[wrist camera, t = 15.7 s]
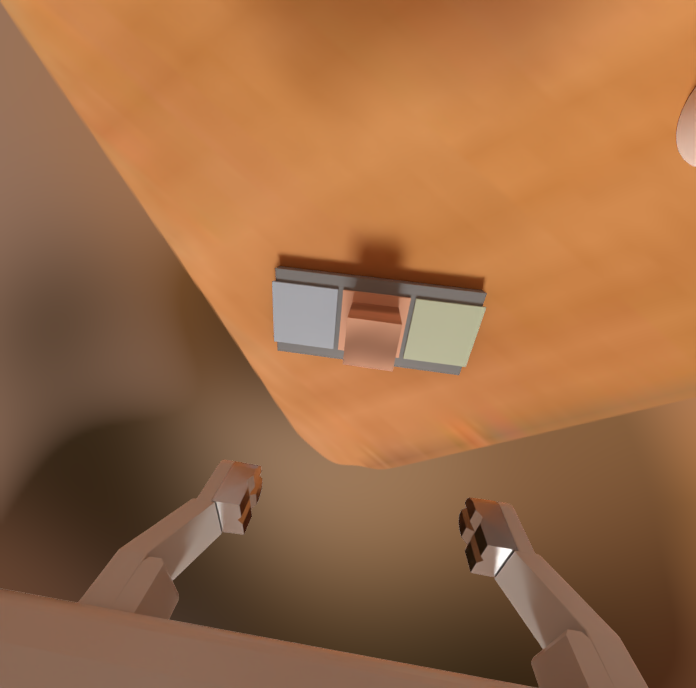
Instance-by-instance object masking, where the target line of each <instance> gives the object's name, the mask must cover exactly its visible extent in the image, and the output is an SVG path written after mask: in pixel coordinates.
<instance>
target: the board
mask: <svg viewBox="0 0 696 688" xmlns="http://www.w3.org/2000/svg"><path fill="white" fill-rule="evenodd" d="M275 269H276V281H272V289H273V320H274V341H276V342H277V344H278V351H286V352H293V353H300V354H308V355H315V356H322V357H330V358H337V359H343V356H344V347H345V338H346V328H347V319H348V315H349V311H350V308H351V305H352V302H359V303H367V304H375V305H382V306H390V307H398V308H399V312H400V316H401V321H402V329H401V334H400V338H399V343H398V348H397V353H396V358H395V362H394V366H396V367H403V368H410V369H418V370H425V371H432V372H440V373H447V374H454V375H459V374H460V371H461V368H462V367H466V365H467V362H468V359H469V356H470V353H471V350H472V347H473V344H474V341H475V339H476V336H477V333H478V330H479V327H480V324H481V321H482V318H483V315H484V313H485V310H486V307H483V303H484V300H485V297H486V294H487V293H485V292H484V291H483V290H476V289H468V288H460V287H451V286H443V285H434V284H426V283H418V282H409V281H401V280H392V279H384V278H376V277H367V276H359V275H350V274H342V273H334V272H325V271H317V270H308V269H300V268H292V267H283V266H279V267H277V268H275Z"/></svg>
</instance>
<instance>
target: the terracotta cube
mask: <svg viewBox="0 0 696 688" xmlns="http://www.w3.org/2000/svg"><path fill="white" fill-rule="evenodd" d="M401 329H402V321H401V316H400V312H399V308H398V307H390V306H382V305H375V304H367V303H359V302H352V305H351V308H350V311H349V315H348V319H347V328H346V338H345V347H344V356H343V364H344V365H351V366H358V367H365V368H372V369H379V370H386V371H393V367H394V362H395V358H396V353H397V348H398V343H399V338H400V334H401Z"/></svg>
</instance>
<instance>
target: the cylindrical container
mask: <svg viewBox="0 0 696 688" xmlns="http://www.w3.org/2000/svg"><path fill="white" fill-rule="evenodd" d="M676 143H677V147H678V151H679V153H680V154H681V156H682V158H683V159H684V160H685V161H686V162H688V163H689V164H690V165H693V166H695V167H696V87H695V89H694V90H693V92H692V93H691V95H690V96H689V98H688V100H687V102H686V104H685V106H684V108H683V110H682V112H681V115H680V118H679V121H678V126H677V131H676Z"/></svg>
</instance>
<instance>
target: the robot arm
mask: <svg viewBox="0 0 696 688" xmlns="http://www.w3.org/2000/svg"><path fill="white" fill-rule="evenodd" d="M261 472H262V470H261V466H259V465H253V464H247V463H242V462H236V461H230V460H222V461H221V462H220V463H219V464H218V466H217V467H216V469H215V471H214V472H213V474H212V475H211V477H210V479H209V480H208V482H207V483H206V485H205V486H204V488H203V490H202V491H201V493H200V494H199V496H198V497H197V499H191V500H190V501H188V502H187V503H185V504H184V505H183V506H181V507H180V508H178V509H177V510H176V511H174V512H172V513H171V514H170V515H168V516H167V517H165V518H164V519H162V520H161V521H159V522H158V523H156V524H155V525H154V526H152V527H151V528H149V529H148V530H146V531H145V532H143V533H142V534H141V535H139V536H138V537H136V538H135V539H133V540H132V541H130V542H129V543H127V544H126V545H125V546H123V547H122V548H120V549H119V550H118V551H117V553H116V554H115V555H114V557H113V558H112V559H111V560H110V562H109V563H108V564H107V566H106V567H105V568H104V570H103V571H102V572H101V574H100V575H99V576H98V578H97V579H96V580H95V581H94V583H93V584H92V585H91V586H90V588H89V589H88V590H87V592H86V593H85V594H84V596H83V597H82V598H81V599H80V601H79V602H78V603H77V602H71V601H66V600H61V599H55V598H49V597H44V596H38V595H33V594H28V593H22V592H17V591H12V590H6V589H0V688H535V687H529V686H524V685H519V684H514V683H508V682H502V681H497V680H492V679H486V678H481V677H475V676H470V675H465V674H459V673H454V672H448V671H443V670H438V669H433V668H427V667H422V666H416V665H411V664H406V663H400V662H395V661H389V660H384V659H378V658H373V657H368V656H362V655H357V654H352V653H346V652H341V651H336V650H330V649H325V648H319V647H314V646H308V645H303V644H298V643H292V642H287V641H282V640H276V639H270V638H265V637H259V636H255V635H249V634H244V633H238V632H233V631H227V630H222V629H216V628H211V627H206V626H201V625H195V624H190V623H185V622H179V621H173V620H169V618H170V616H171V614H172V612H173V610H174V608H175V606H176V604H177V602H178V600H179V596H178V592H177V590H176V588H175V586H174V584H173V580H174V579H175V578H176V577H177V576H178V575H179V574H180V573H181V572H182V571H183V570H184V569H185V568H186V567H187V566H188V565H189V564H190V563H191V562H192V561H193V560H194V559H195V558H197V557H198V556H199V555H200V554H201V553H202V552H203V551H204V550H205V549H206V548H207V547H208V546H209V545H210V544H211V543H212V542H213V541H214V540H215V539H216V538H217V537H218V536H219V535H220V534H221V532H229V533H237V534H243V535H244V534H245V531H246V529H247V526H248V524H249V522H250V519H251V517H252V513H251V508H253V507H254V506H255V505H256V504H257V502H258V500H259V497H260V494H261V490H262V483H263V482H262V478H261V477H260V474H261ZM465 505H466V508H464V509H462V510H461V512H460V514H459V530H460V534H461V537H462V539H463V540H464V541H465V542H466V544H467V547H466V549H465V553H466V557H467V561H468V565H469V569H470V572H471V573H475V574H480V575H486V576H491V577H495V580H496V581H497V583H498V584H499V586H500V587H501V589H502V590H503V592H504V593H505V594H506V596H507V597H508V599H509V600H510V602H511V603H512V605H513V606H514V607H515V609H516V610H517V612H518V613H519V615H520V616H521V618H522V619H523V621H524V622H525V623H526V625H527V626H528V628H529V629H530V631H531V632H532V634H533V635H534V637H535V638H536V639H537V641H538V642H539V644H540V645H541V647H542V648H543V650H542V651H541V652H539V653H538V654H537V655H536V656H535V657H533V660H532V661H531V664H532V667H533V670H534V673H535V676H536V679H537V682H538V685H539V688H648V686H647V685H646V683H645V681H644V679H643V678H642V676H641V674H640V672H639V671H638V669H637V667H636V665H635V664H634V662H633V660H632V658H631V657H630V655H629V653H628V651H627V649H626V648H625V646H624V644H623V643H622V641H621V639H620V637H619V636H618V635H617V634H616V633H615V632H614V631H613V630H612V629H611V628H610V627H609V626H608V625H607V624H606V623H605V622H604V621H603V620H602V619H601V618H600V617H599V616H598V614H597V613H596V612H595V611H594V610H593V609H592V608H591V607H590V606H589V605H588V604H587V603H586V602H585V601H584V600H583V599H582V598H581V597H580V596H579V595H578V594H577V593H576V592H575V591H574V590H573V589H572V588H571V587H570V586H569V585H568V584H567V583H566V582H565V580H563V579H562V577H561V576H560V575H559V574H558V573H557V572H556V571H555V570H554V569H553V568H552V567H551V566H550V565H549V564H548V563H547V562H546V561H545V560H544V559H543V558H542V557H541V556H540V555H538V554H535V553H534V550H533V548H532V546H531V544H530V542H529V540H528V537H527V536H526V533H525V531H524V530H523V527H522V525H521V523H520V520H519V518H518V516H517V514H516V512H515V510H514V508H513V506H512V505H511V504H509V503H502V502H495V501H491V500H484V499H476V498H468V499H467V500H466V502H465Z"/></svg>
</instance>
